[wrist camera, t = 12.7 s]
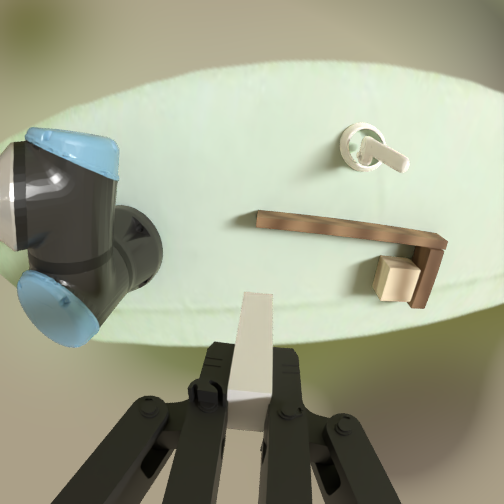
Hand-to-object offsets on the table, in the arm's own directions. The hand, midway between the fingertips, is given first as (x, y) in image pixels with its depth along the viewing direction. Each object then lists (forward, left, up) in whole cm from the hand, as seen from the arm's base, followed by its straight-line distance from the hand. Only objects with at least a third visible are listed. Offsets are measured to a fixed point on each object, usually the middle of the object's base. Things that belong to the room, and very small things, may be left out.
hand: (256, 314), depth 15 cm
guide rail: (+15, -8, -29) cm, 34 cm away
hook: (+14, +10, -30) cm, 34 cm away
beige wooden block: (+23, -10, -30) cm, 39 cm away
